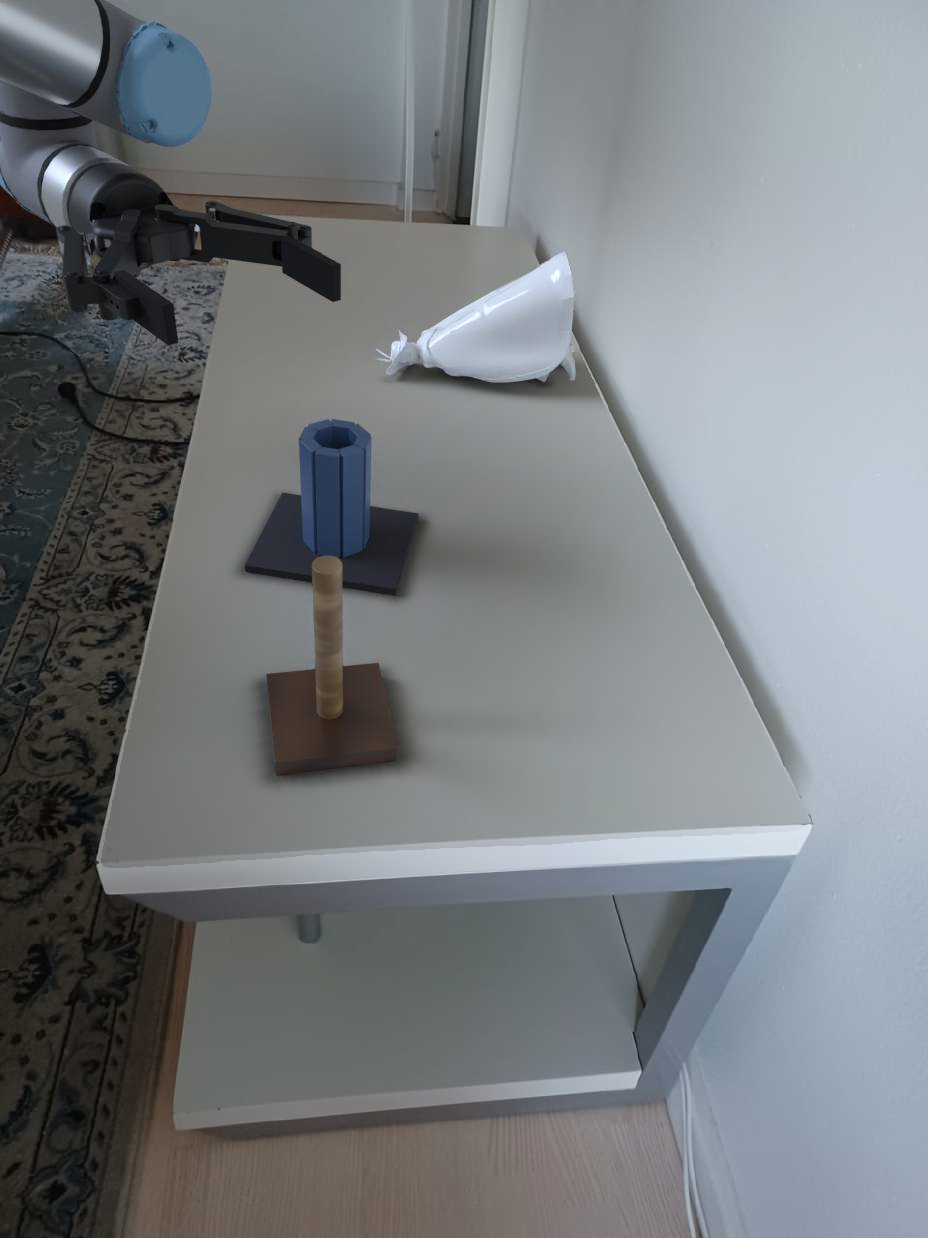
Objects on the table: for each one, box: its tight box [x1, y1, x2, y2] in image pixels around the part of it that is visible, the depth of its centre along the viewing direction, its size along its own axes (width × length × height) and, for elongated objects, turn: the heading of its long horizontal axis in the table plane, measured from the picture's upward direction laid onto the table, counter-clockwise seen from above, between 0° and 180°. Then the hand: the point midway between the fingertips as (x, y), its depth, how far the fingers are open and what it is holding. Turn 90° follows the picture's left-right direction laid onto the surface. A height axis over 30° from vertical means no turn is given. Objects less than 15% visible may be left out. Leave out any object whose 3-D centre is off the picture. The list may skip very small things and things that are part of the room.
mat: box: [244, 492, 420, 596], centre depth 86 cm, size 14×12×1 cm
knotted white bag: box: [375, 251, 577, 383], centre depth 111 cm, size 14×16×25 cm
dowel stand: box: [265, 555, 399, 776], centre depth 65 cm, size 9×9×16 cm
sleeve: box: [298, 418, 373, 558], centre depth 82 cm, size 6×6×11 cm
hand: (259, 303), depth 63 cm, fingers open, 13 cm apart
